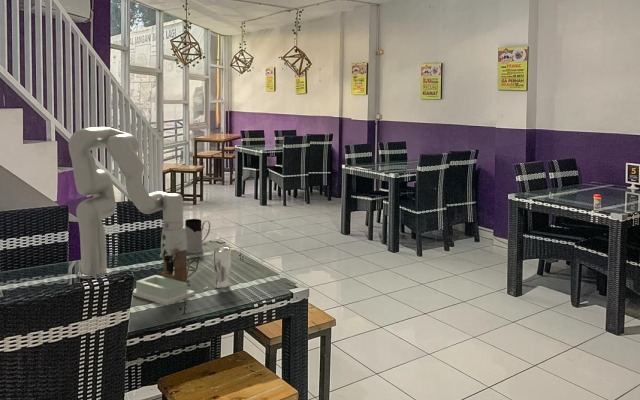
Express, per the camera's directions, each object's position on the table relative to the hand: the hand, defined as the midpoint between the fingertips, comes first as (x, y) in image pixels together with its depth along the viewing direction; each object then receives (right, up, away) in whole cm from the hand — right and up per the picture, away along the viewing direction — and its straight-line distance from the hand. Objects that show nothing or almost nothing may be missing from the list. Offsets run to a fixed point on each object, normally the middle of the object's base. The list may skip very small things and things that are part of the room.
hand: (174, 269), depth 217 cm
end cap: (-1, -8, -12) cm, 14 cm away
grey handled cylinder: (-1, +3, +49) cm, 49 cm away
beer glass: (+19, -7, -1) cm, 20 cm away
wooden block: (0, -5, +1) cm, 6 cm away
